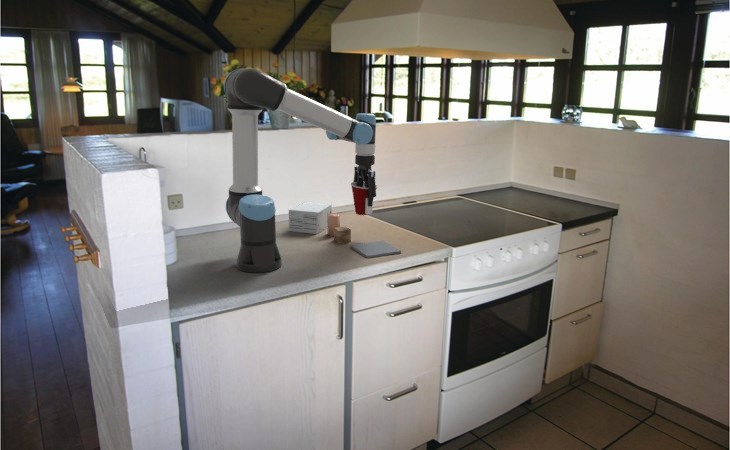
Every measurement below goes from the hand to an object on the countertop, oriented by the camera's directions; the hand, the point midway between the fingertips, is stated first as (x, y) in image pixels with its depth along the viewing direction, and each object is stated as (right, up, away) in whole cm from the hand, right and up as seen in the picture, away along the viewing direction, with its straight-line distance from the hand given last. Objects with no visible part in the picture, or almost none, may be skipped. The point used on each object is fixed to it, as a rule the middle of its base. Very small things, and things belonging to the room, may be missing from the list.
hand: (363, 211), depth 217 cm
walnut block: (-8, -12, -1) cm, 14 cm away
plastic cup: (0, -1, 0) cm, 1 cm away
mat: (+5, -15, -12) cm, 20 cm away
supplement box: (-22, -7, +17) cm, 29 cm away
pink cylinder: (-12, -9, +8) cm, 17 cm away
